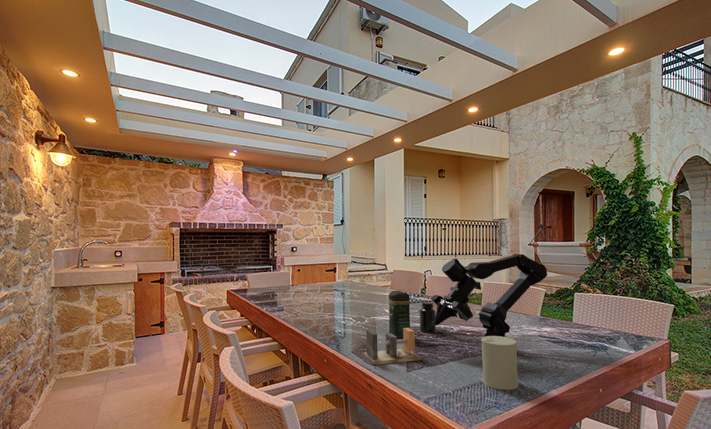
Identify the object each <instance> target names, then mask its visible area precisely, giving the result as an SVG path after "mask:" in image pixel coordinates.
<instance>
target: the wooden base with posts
mask: <svg viewBox="0 0 711 429" xmlns="http://www.w3.org/2000/svg"><path fill="white" fill-rule="evenodd" d="M365 330H366V351H365V352H363V354H364V356H365V358H366V360H368V361H369V362H370V363H371V364H372V365H374V366H375V365H383V364H385V365H386V364H395V363H404V362H406V363H407V362H415V361H421V360H422V358H421V356H420V355H419V354H417V353H416V352H415V354H414V355H411V354H410V355H409V354H408V353H407V352H405V351H404V348H398V349H397V346H398V344H397V340H398V338H397V337H396V336H394V335H393V334H392V333H389V332H387V333H385V342H386V341H388V340H389V345H387V344H386V343H385V349H384V350H378V333H376V332H375V331H374V330H373V329H371V328H370V329H365ZM398 351H401V352H402V357H399V356H398Z"/></svg>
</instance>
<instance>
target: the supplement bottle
mask: <svg viewBox="0 0 711 429" xmlns="http://www.w3.org/2000/svg"><path fill="white" fill-rule="evenodd" d="M436 312H437V311H436V310H435V308H434V302H429V301H425V302H422V303H421V309H420V310H419V330H420V331H421V332H422V333H423V332H424V333H434V332H436V330H437V325H435V324H434V321H435V317H436Z"/></svg>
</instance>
